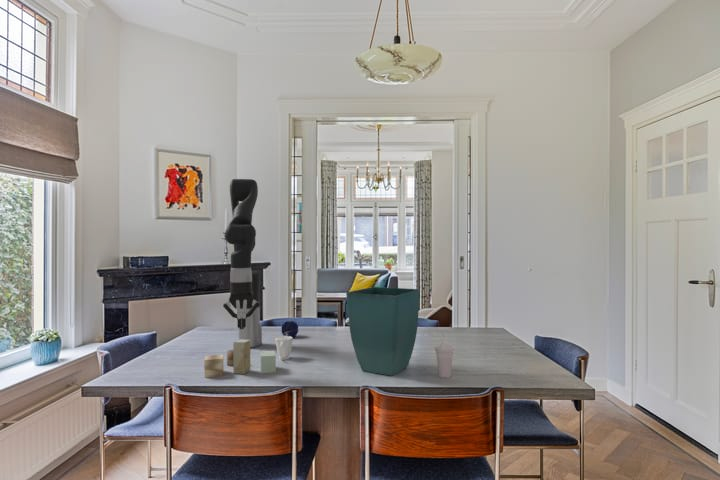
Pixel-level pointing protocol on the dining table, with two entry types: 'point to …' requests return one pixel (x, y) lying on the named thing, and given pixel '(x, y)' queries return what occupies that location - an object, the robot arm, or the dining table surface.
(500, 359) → the dining table surface
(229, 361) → the walnut cylinder
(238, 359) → the box
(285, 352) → the cup
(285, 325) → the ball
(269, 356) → the sage block
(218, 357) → the beech cube
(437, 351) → the smoothie
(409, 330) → the flower pot
